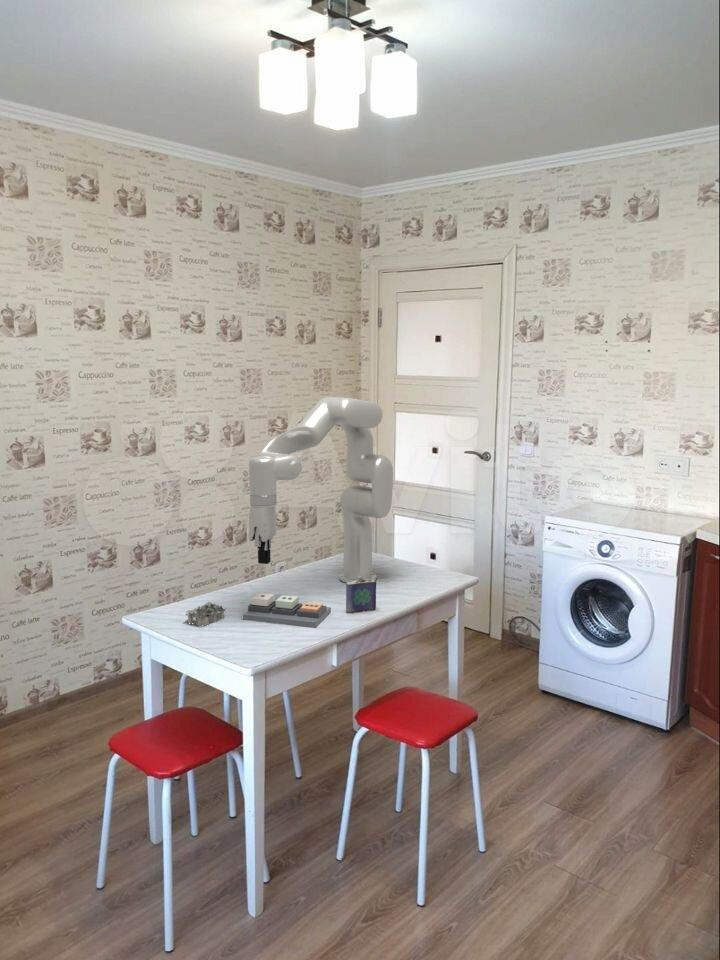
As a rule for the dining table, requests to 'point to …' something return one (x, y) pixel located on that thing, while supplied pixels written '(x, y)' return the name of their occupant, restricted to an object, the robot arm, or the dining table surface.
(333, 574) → the dining table surface
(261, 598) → the tile
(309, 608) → the tile
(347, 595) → the flask
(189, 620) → the egg carton
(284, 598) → the tile
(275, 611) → the keypad board
